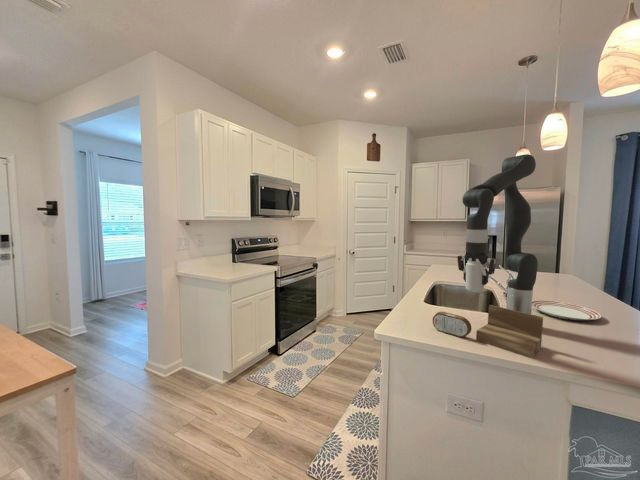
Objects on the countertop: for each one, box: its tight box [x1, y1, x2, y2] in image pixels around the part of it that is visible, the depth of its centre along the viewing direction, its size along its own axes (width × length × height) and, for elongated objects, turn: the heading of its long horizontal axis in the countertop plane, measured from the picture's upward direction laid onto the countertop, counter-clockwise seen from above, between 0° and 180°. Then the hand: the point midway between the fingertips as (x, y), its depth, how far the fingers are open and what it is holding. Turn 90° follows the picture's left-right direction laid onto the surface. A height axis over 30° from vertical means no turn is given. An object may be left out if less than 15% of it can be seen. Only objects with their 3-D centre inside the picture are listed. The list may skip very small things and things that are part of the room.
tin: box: [432, 311, 472, 338], centre depth 117 cm, size 15×3×8 cm, turn 45°
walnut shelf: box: [475, 304, 544, 359], centre depth 107 cm, size 12×18×12 cm, turn 39°
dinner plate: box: [532, 299, 603, 321], centre depth 142 cm, size 28×27×3 cm
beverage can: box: [465, 261, 485, 293], centre depth 111 cm, size 6×6×12 cm
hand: (475, 282), depth 111 cm, fingers closed on beverage can, 6 cm apart
